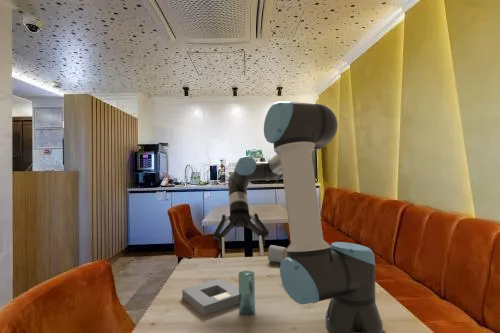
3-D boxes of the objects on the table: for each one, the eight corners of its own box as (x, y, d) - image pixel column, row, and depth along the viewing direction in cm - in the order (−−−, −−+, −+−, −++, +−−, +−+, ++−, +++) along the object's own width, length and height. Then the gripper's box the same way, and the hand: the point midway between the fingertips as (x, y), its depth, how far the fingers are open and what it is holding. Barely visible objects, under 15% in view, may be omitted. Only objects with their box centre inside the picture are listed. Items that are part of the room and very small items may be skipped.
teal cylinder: (258, 312, 93) (257, 273, 93) (245, 317, 90) (244, 277, 90) (248, 306, 97) (248, 269, 97) (236, 310, 94) (235, 273, 94)
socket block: (246, 301, 100) (246, 291, 100) (203, 316, 91) (203, 305, 91) (221, 286, 113) (221, 278, 113) (182, 297, 104) (182, 289, 104)
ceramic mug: (284, 265, 135) (284, 248, 136) (267, 263, 139) (267, 247, 139) (290, 258, 145) (290, 243, 145) (274, 257, 148) (274, 241, 148)
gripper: (268, 210, 123) (276, 257, 108) (207, 212, 120) (207, 261, 105) (270, 199, 117) (279, 247, 102) (207, 201, 114) (206, 250, 100)
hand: (242, 254), depth 104 cm, fingers open, 13 cm apart
